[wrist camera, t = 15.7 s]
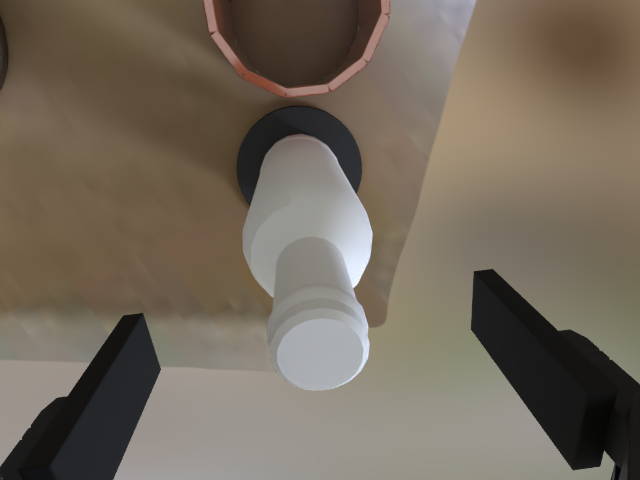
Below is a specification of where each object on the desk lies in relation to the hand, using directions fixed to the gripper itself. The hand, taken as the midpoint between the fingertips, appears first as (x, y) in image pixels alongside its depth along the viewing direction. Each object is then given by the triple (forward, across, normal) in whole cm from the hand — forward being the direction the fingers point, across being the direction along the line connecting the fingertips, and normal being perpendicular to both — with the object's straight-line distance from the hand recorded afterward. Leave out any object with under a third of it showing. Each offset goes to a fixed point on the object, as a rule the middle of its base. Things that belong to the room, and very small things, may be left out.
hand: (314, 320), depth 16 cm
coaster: (+29, 0, 0) cm, 29 cm away
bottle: (+28, 0, 0) cm, 28 cm away
